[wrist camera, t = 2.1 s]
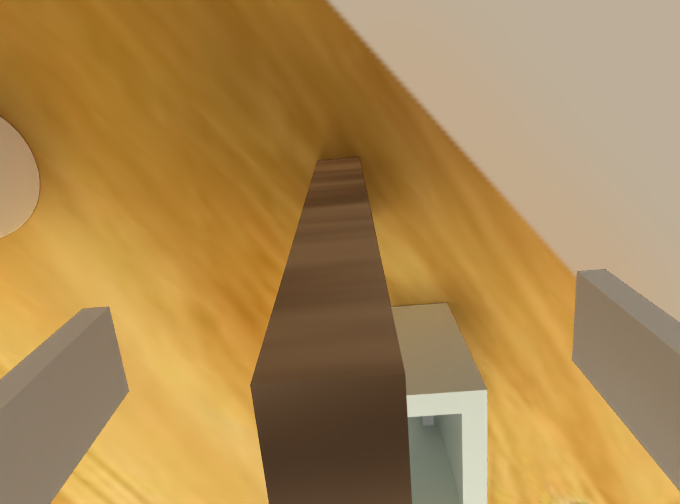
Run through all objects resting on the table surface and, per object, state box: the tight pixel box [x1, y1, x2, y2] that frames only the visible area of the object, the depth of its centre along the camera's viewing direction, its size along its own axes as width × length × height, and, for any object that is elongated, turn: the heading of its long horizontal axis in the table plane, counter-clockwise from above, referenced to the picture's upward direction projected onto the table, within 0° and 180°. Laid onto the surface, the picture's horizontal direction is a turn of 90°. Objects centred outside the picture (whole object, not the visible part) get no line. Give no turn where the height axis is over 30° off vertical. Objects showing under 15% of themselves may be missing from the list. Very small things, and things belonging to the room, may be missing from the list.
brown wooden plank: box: [250, 157, 412, 504], centre depth 21 cm, size 4×2×24 cm, turn 5°
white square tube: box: [391, 303, 487, 504], centre depth 31 cm, size 8×8×10 cm
